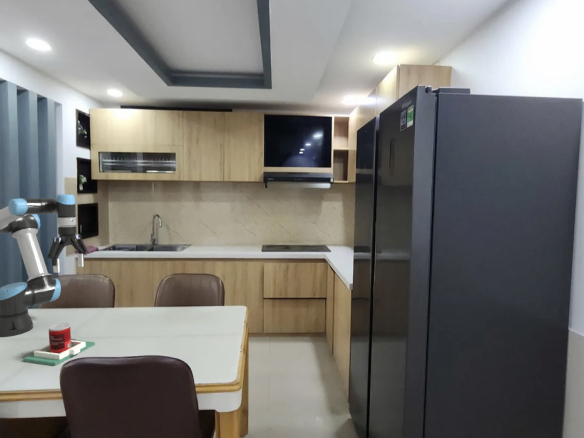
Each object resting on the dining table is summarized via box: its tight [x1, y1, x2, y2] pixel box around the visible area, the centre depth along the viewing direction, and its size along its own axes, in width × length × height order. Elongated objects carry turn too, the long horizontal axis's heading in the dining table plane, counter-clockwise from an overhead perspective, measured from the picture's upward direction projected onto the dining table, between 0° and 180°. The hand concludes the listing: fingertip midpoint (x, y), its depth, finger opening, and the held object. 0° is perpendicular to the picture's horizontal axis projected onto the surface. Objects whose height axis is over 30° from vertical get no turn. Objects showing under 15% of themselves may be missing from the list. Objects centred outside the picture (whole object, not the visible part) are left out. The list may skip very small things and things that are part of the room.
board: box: [23, 338, 96, 367], centre depth 149 cm, size 18×20×3 cm
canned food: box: [48, 322, 72, 354], centre depth 148 cm, size 8×8×11 cm
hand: (69, 269), depth 169 cm, fingers open, 13 cm apart
